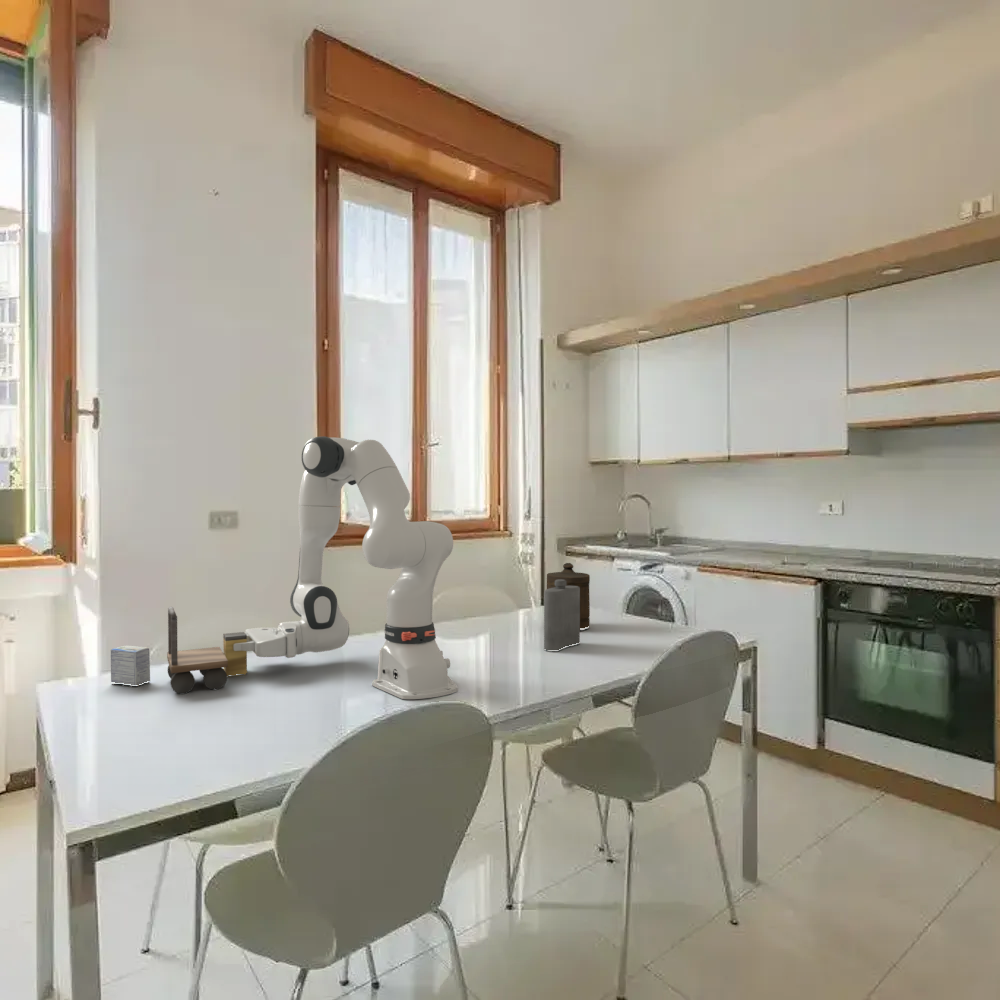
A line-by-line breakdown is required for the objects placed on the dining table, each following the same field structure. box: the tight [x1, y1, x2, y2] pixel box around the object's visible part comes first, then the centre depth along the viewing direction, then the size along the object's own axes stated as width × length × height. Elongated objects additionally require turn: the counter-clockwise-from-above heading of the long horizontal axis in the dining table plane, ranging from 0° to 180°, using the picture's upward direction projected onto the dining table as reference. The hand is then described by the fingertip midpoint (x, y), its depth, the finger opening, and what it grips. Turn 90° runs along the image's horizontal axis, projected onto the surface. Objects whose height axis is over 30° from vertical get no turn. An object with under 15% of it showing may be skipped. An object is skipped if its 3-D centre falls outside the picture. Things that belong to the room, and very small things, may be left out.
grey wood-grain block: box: [110, 645, 151, 685], centre depth 167 cm, size 8×4×9 cm, turn 71°
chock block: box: [222, 631, 248, 677], centre depth 176 cm, size 4×5×10 cm
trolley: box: [166, 606, 228, 694], centre depth 166 cm, size 16×12×18 cm
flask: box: [543, 579, 581, 650], centre depth 206 cm, size 15×6×20 cm, turn 141°
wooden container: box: [546, 562, 591, 628], centre depth 235 cm, size 15×15×22 cm
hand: (231, 644), depth 176 cm, fingers open, 5 cm apart
